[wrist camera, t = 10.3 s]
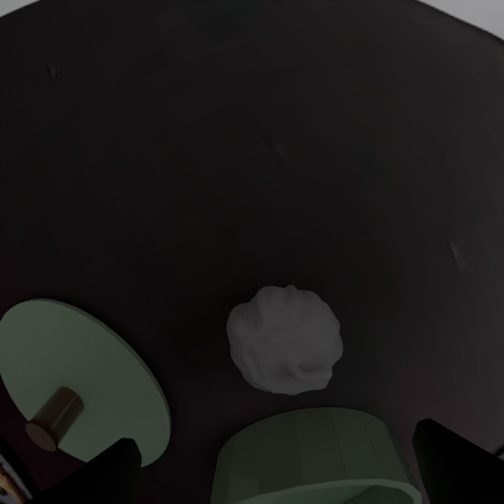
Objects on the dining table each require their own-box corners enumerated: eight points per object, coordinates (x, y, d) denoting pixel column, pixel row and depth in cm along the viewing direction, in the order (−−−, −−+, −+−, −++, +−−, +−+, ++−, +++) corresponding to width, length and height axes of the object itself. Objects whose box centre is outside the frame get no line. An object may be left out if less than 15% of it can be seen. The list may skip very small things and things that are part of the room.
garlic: (355, 310, 17) (387, 357, 12) (297, 379, 18) (306, 439, 13) (266, 250, 16) (268, 281, 11) (211, 329, 17) (193, 383, 12)
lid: (43, 442, 21) (17, 479, 15) (-18, 294, 18) (-65, 319, 12) (192, 470, 20) (180, 524, 15) (147, 292, 17) (102, 337, 12)
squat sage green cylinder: (227, 514, 22) (222, 567, 15) (200, 412, 19) (181, 485, 12) (378, 499, 21) (393, 549, 15) (411, 391, 18) (450, 453, 12)
